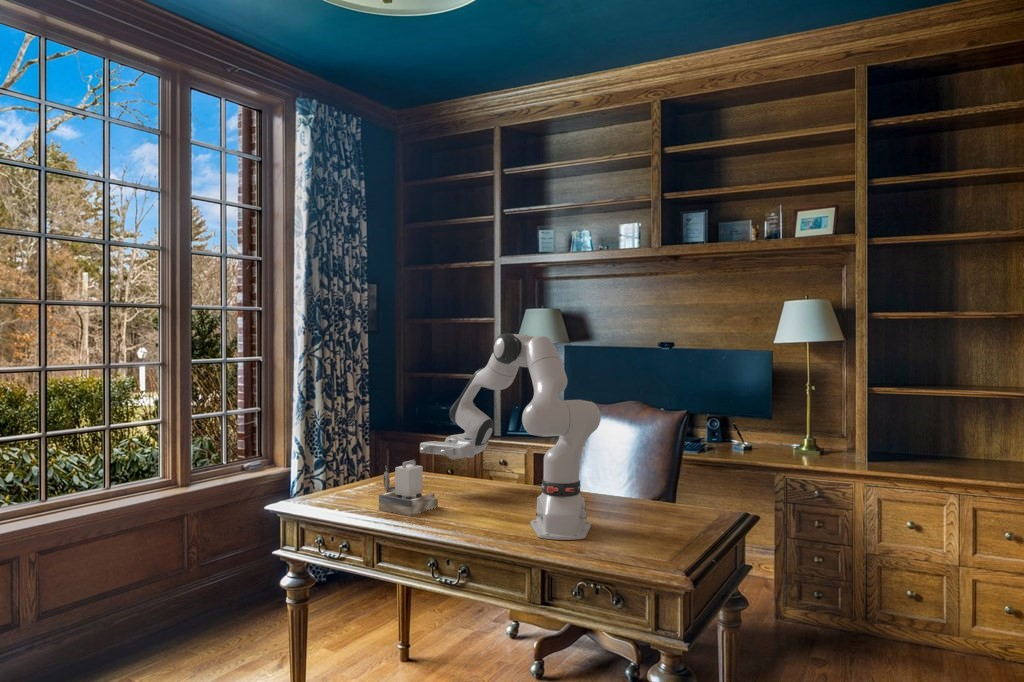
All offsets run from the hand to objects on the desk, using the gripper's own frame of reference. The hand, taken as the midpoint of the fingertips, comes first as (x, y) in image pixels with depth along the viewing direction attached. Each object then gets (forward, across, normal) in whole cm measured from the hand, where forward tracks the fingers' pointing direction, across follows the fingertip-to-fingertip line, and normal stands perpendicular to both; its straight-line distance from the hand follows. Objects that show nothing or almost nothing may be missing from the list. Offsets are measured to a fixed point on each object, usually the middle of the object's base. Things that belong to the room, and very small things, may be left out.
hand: (431, 451), depth 241 cm
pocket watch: (-4, -22, +17) cm, 28 cm away
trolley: (+12, -1, +15) cm, 19 cm away
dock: (+12, -1, +18) cm, 21 cm away
